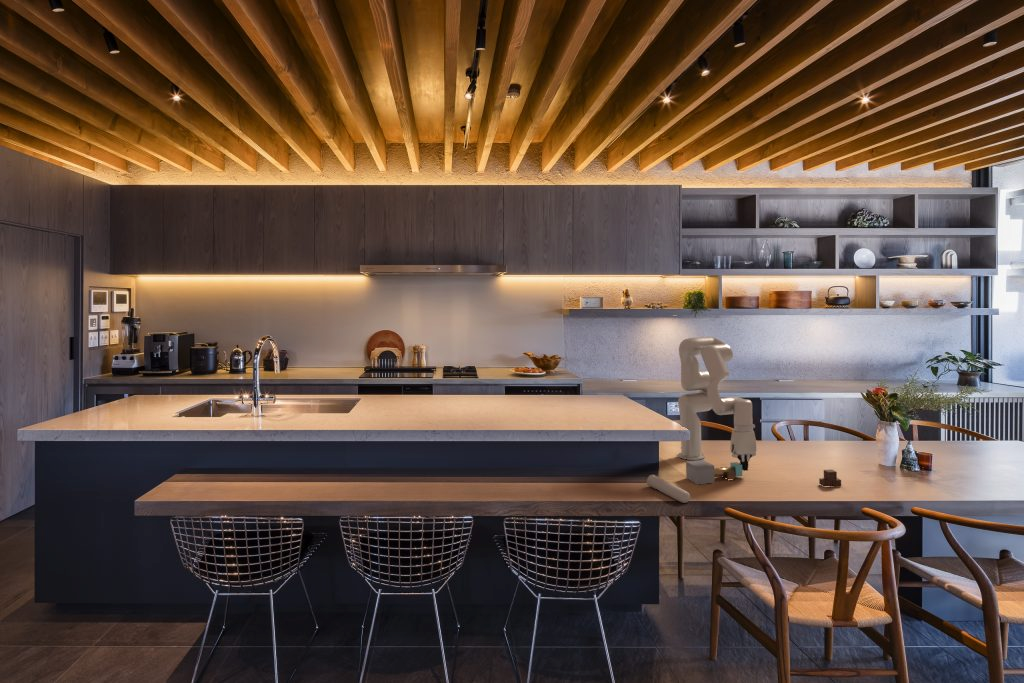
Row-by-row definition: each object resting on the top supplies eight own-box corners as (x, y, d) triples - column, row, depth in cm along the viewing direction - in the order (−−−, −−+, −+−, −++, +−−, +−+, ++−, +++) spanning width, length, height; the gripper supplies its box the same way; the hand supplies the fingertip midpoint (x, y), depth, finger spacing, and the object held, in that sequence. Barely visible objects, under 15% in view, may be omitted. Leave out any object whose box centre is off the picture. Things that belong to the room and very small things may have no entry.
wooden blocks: (824, 495, 238) (824, 477, 237) (804, 484, 253) (804, 467, 252) (862, 493, 238) (862, 475, 238) (840, 482, 253) (840, 465, 253)
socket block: (686, 478, 265) (685, 461, 265) (703, 476, 266) (703, 459, 266) (696, 484, 255) (696, 467, 255) (714, 483, 257) (714, 465, 256)
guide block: (720, 476, 266) (719, 467, 266) (726, 475, 267) (726, 466, 266) (728, 480, 259) (728, 471, 259) (735, 480, 259) (734, 471, 259)
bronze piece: (697, 476, 263) (696, 465, 263) (737, 473, 266) (736, 462, 266) (701, 479, 259) (701, 468, 258) (742, 476, 261) (742, 464, 261)
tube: (694, 492, 233) (659, 475, 257) (683, 490, 232) (648, 473, 255) (690, 506, 233) (655, 488, 257) (679, 503, 231) (645, 485, 255)
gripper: (754, 425, 268) (755, 466, 269) (722, 427, 265) (723, 469, 266) (764, 428, 261) (765, 470, 262) (732, 431, 258) (733, 473, 259)
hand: (744, 469), depth 264 cm, fingers closed
